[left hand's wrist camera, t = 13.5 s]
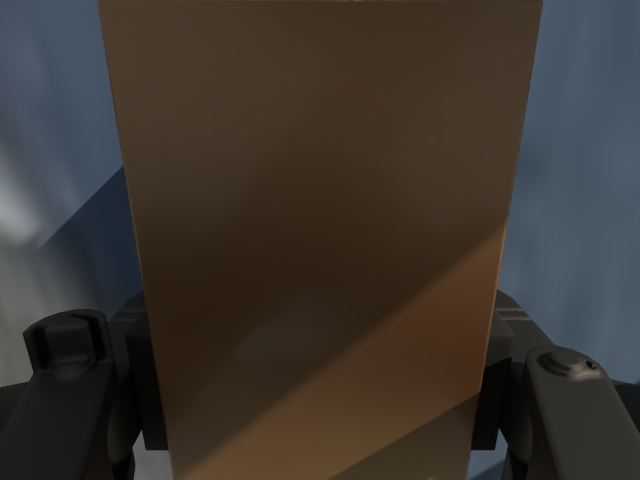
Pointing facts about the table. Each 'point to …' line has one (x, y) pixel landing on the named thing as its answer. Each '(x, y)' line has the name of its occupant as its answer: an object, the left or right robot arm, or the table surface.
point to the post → (320, 223)
